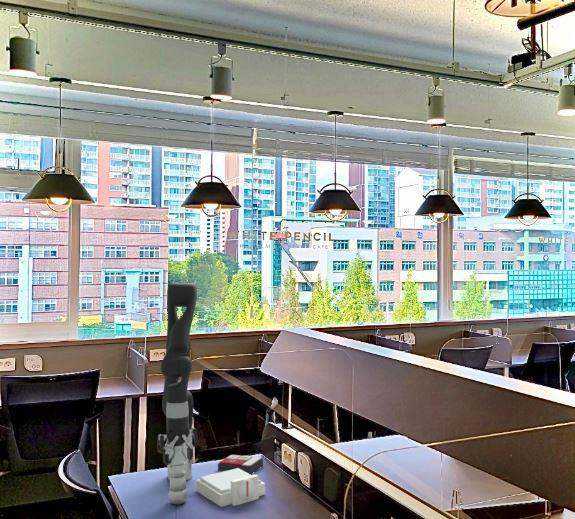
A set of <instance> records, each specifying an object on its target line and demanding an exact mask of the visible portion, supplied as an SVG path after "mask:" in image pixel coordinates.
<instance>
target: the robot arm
mask: <svg viewBox="0 0 575 519" xmlns="http://www.w3.org/2000/svg"><path fill="white" fill-rule="evenodd" d="M166 293H167V294H166V300H167V302H166V307H167V313H166V314H167V315H166V316H167V325H166V326H167V328H166V340H165V341H166V343H165V344H166V345H165V354H164V357H163V358H162V361H161V363H160V372H161V374H162V376H164V383H163V384H164V385H163V392H162V393H163V394H162V401H161V402H162V404H161V405H162V411H163V413H164V415H165V416H166V418H165V420H166V434H161V433H159V434H158V435H157V448H156V449H157V450H156V452H158V453H160V454H162V462H163V463H164V465H165V466H167V480H168V481H170V471H169V457H170V455H171V453H172V452H173V451H172V447H173V446H174V445H178V444H183V450H182V451H183V453H184V454H185V456H186V458H187V463H186V475H185V479H186V481H188V480H190V479H192V478H193V472H192V471H193V467H192V466H193V463H192V462H193V457H194V448H196V447H198V446H199V439H198V438H199V437H198V429H197V428H195V427H193V424H194V422H193V421H194V398H193V397H194V396H193V395H192V393H191V392H190V391H189V390H188V386H189V381H190V377H191V373H192V368H193V362H192V359H191V349H192V348H191V347H192V346H191V345H192V343H191V338H190V335H191V334H190V333H191V328H192V325H193V324H192V323H193V319H194V317H195V316H194V315H195V311H196V305H197V299H198V288H197V285H196V284H195V283H193V282H192V283H191V282H174V281H173V282H169V284H168V286H167V292H166ZM177 307H178V308H185V310H184V312H183V313H182V315H181V316H180V317H179V316H178V312H177V309H176V308H177ZM180 379H181V380H180ZM165 442H166V443H165ZM164 443H165V444H164Z"/></svg>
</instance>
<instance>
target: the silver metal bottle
mask: <svg viewBox="0 0 575 519" xmlns="http://www.w3.org/2000/svg"><path fill="white" fill-rule="evenodd" d="M182 450H183V444H178V445H174V446H173V447H172V451H173V452H172V453H171V455H170V457H169V471H170V480H169V489H168V496H167V497H168V501H169V502H170V504H172V505H182V504H184V503H185V502H186V501H187V500H188V489H187V480H186V479H185V475H186V463H187V458H186V456H185V454H184V453H183V451H182Z"/></svg>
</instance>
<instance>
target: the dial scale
mask: <svg viewBox="0 0 575 519" xmlns="http://www.w3.org/2000/svg"><path fill="white" fill-rule="evenodd" d="M259 478H260V477H259V475H258V474H255V473H254V474H252V475H250V474H248V473H247V472H245V471H243V470H241V469H239V468H236V469H232V470H228V471H219V472H216V473H212V474H207V475H203V476H200V477H199V478H198V479H196V482H195V483H196V485H195V488H196V489H195V490H196V492H197V493H198V494H200V495H202V496H204V497H205V498H206V499H208V500H209V501H211V502H212V503H214V504H215V505H217V506H219V507H226V506H230V505H231V506H234V507H235V506H238V505H242V504H246V503H249V502H253V501H256V500H260V499H259V498H260V497H261V496H265V495H266V483H265V482H263V481H262V480H261V479H259Z"/></svg>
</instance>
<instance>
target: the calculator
mask: <svg viewBox="0 0 575 519" xmlns="http://www.w3.org/2000/svg"><path fill="white" fill-rule="evenodd" d="M262 466H263V467H264V458H263V457H260V456H259V457H258V456H251V455H240V454H239V455H238V454H230V455H229V456H227V457H226V458H223V459H221V461H219V462H218V463H217V470H218V471H219V472H224V471H228V470H232V469H236V468H239V469H241V470H243V471H245V472H247V473H248V474H252V473H253V472H255V471H256V470H258V469H259V468H260V467H262ZM263 467H262V468H263ZM259 470H260V469H259ZM259 470H258V471H259ZM256 472H257V471H256ZM256 472H255V473H256ZM252 475H253V474H252Z"/></svg>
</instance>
